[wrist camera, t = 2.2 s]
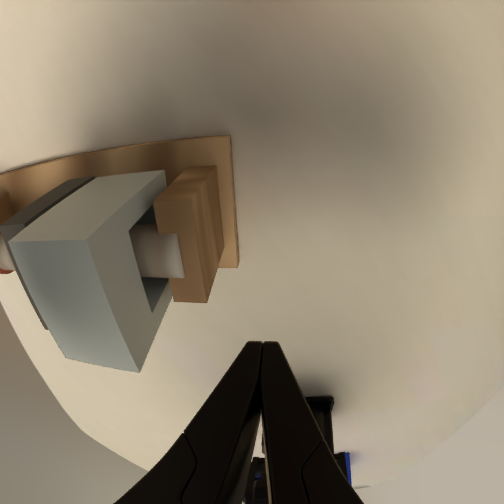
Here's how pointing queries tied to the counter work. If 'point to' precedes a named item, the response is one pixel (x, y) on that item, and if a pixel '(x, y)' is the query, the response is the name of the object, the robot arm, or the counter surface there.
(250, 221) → the counter surface
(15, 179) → the wooden rail stand
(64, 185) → the collar
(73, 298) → the sleeve
